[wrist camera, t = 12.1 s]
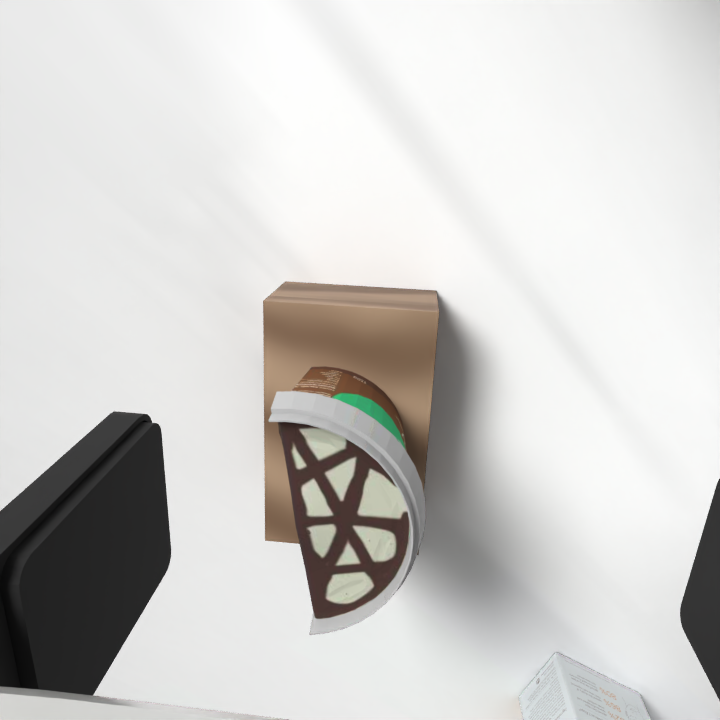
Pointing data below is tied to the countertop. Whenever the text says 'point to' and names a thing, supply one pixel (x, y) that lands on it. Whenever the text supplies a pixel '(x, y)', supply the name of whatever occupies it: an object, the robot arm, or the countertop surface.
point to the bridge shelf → (346, 365)
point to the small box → (578, 695)
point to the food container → (349, 493)
